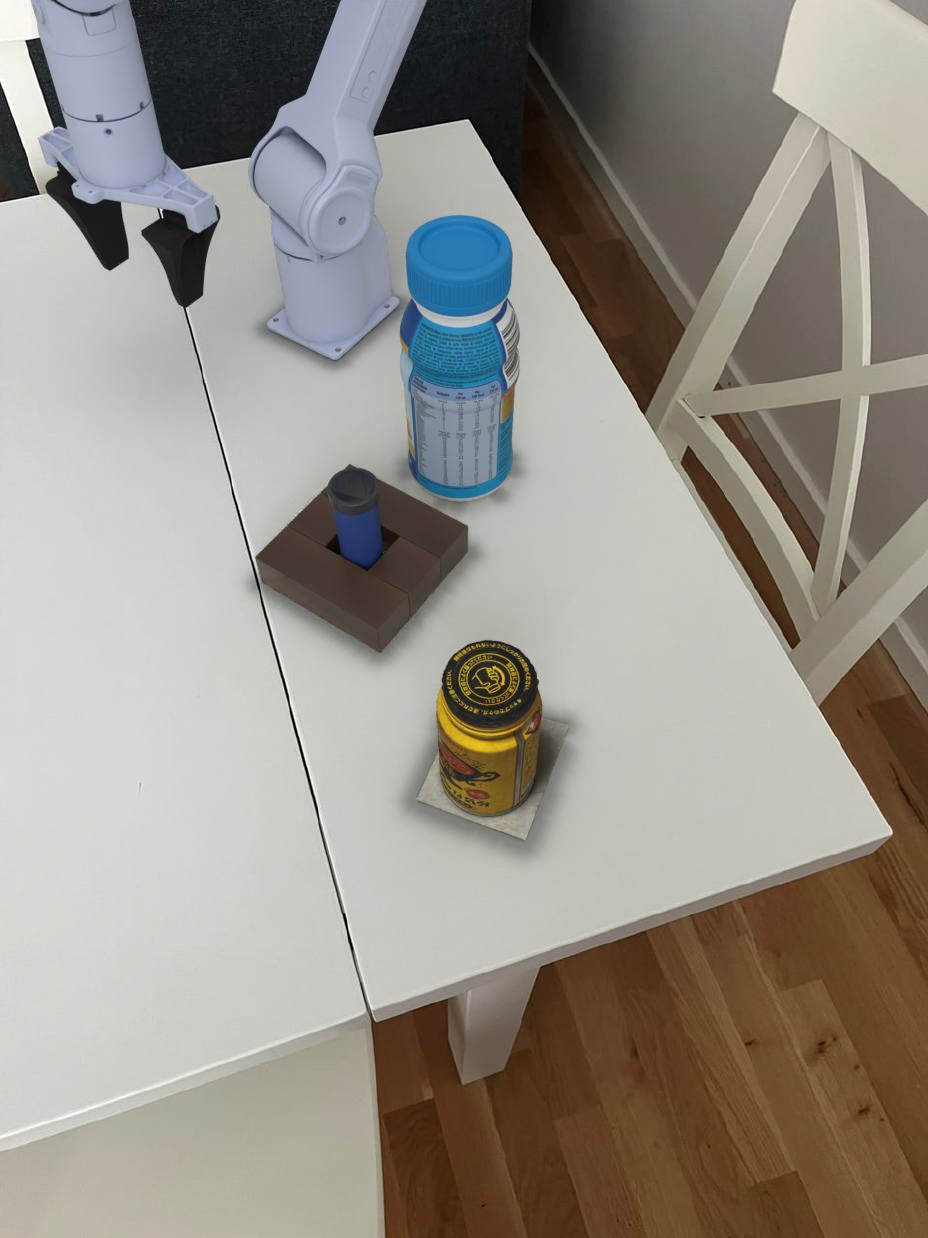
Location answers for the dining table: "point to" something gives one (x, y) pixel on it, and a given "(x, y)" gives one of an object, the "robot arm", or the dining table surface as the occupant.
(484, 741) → the condiment
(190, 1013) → the dining table surface
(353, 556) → the blue cylinder
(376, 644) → the holder
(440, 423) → the beverage bottle
